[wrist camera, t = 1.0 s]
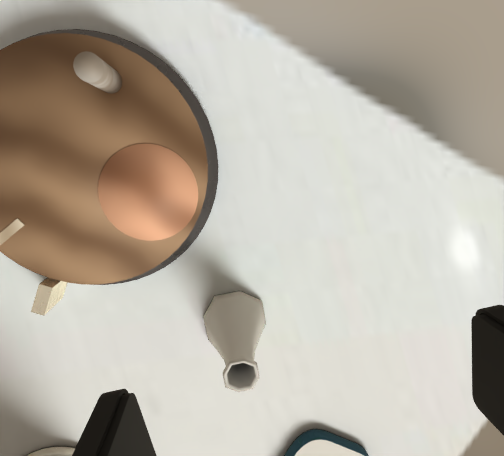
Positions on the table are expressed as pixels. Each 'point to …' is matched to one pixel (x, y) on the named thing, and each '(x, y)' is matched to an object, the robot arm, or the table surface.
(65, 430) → the table surface
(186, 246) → the base
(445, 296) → the table surface
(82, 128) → the turntable
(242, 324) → the flask
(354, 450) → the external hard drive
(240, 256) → the table surface
